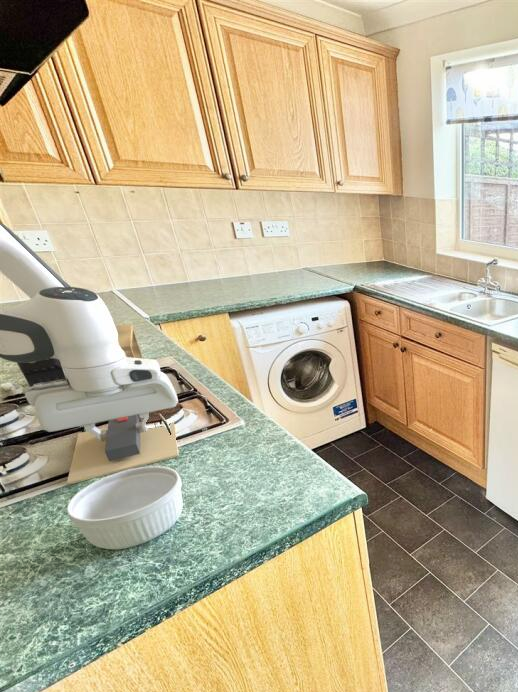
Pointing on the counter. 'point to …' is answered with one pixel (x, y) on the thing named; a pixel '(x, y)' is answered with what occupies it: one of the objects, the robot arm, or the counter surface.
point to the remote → (122, 438)
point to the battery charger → (42, 371)
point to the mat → (95, 462)
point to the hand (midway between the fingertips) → (124, 435)
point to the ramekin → (128, 507)
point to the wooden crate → (128, 341)
